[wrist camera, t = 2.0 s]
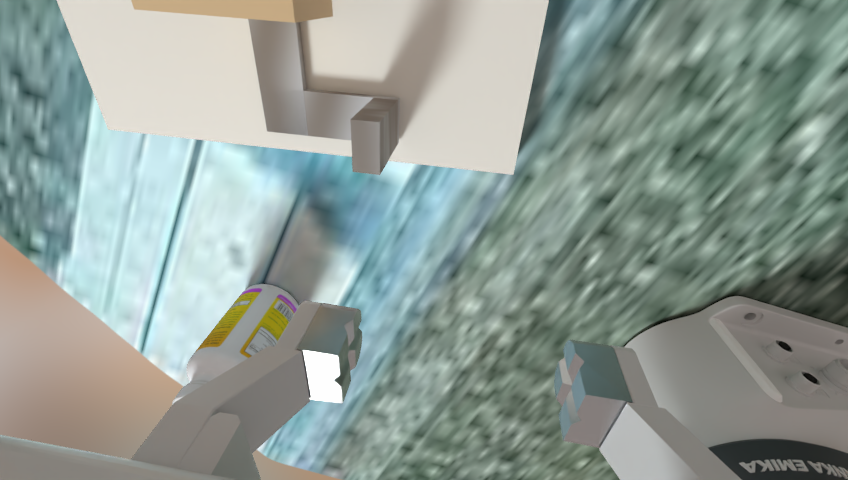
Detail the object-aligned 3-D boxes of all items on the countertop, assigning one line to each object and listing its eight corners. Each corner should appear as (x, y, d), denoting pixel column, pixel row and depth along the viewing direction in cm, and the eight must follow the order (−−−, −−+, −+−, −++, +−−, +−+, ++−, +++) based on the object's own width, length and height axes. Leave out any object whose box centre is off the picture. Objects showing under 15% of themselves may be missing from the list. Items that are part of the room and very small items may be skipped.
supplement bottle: (240, 313, 43) (158, 420, 32) (247, 271, 39) (157, 377, 29) (297, 334, 43) (235, 446, 33) (309, 295, 40) (244, 407, 29)
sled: (405, -155, 18) (378, -204, 14) (398, 142, 27) (379, 174, 22) (209, -163, 19) (121, -212, 15) (261, 127, 27) (215, 155, 23)
